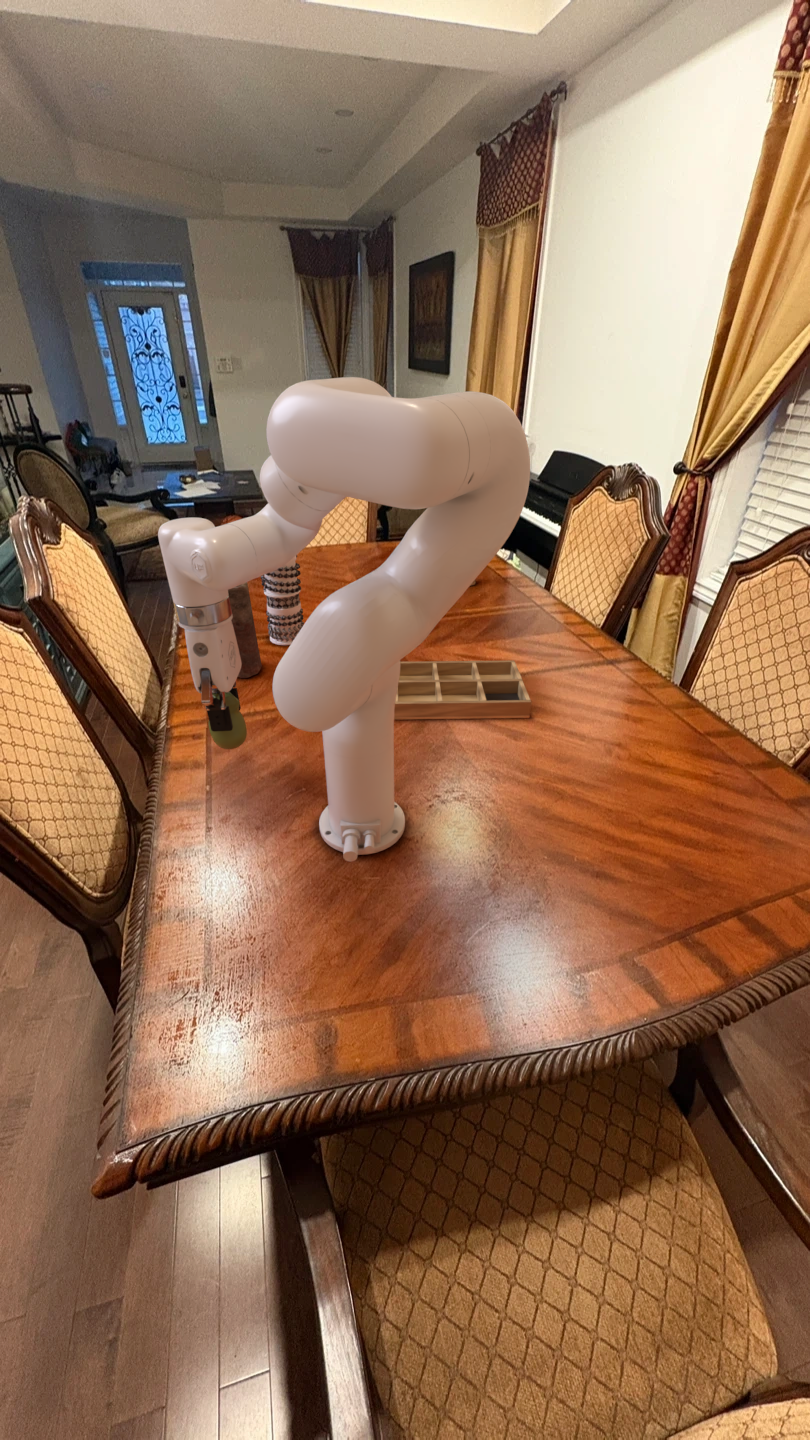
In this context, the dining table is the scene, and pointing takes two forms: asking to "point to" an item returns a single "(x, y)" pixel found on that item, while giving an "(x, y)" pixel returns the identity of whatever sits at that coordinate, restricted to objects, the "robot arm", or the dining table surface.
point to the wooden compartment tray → (461, 690)
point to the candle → (245, 630)
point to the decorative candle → (283, 603)
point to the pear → (239, 726)
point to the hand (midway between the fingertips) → (226, 719)
